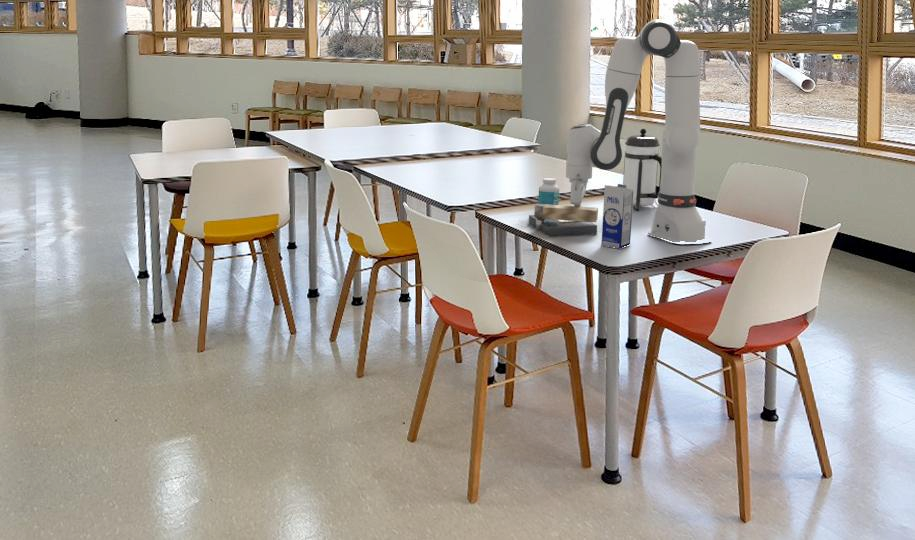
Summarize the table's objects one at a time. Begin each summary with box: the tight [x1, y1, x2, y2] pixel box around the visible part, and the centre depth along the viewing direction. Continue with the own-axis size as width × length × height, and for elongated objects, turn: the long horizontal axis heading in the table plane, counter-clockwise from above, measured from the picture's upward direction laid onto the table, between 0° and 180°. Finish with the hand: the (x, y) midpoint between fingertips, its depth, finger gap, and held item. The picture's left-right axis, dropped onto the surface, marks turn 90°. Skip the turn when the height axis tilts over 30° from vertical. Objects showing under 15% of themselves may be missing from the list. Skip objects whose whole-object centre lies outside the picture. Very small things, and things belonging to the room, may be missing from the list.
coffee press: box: [622, 128, 662, 212], centre depth 360 cm, size 17×16×30 cm
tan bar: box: [533, 203, 599, 223], centre depth 322 cm, size 21×5×4 cm, turn 76°
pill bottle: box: [538, 177, 560, 205], centre depth 347 cm, size 8×7×14 cm
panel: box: [528, 214, 598, 238], centre depth 327 cm, size 20×18×4 cm
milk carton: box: [600, 183, 634, 249], centre depth 304 cm, size 7×7×20 cm
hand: (577, 212), depth 325 cm, fingers closed
